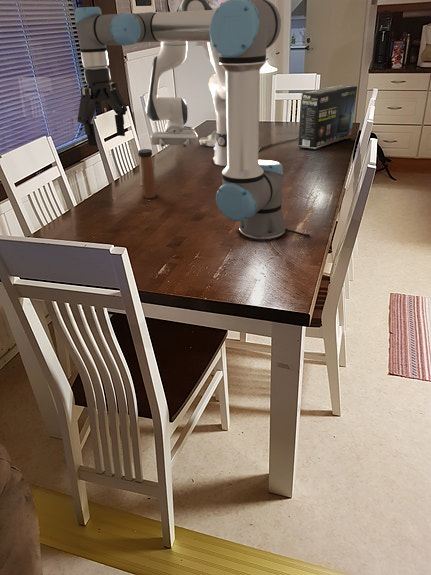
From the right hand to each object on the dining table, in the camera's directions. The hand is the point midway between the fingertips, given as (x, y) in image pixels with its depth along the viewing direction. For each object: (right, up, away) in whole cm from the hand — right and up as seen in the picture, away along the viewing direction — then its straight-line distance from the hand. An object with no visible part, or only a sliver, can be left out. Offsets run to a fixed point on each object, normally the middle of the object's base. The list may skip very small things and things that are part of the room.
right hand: (107, 140), depth 148 cm
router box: (+93, +30, +97) cm, 138 cm away
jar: (+9, -11, +35) cm, 38 cm away
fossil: (+35, +30, +102) cm, 112 cm away
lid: (+8, +4, +26) cm, 28 cm away
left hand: (+17, +13, +45) cm, 50 cm away
